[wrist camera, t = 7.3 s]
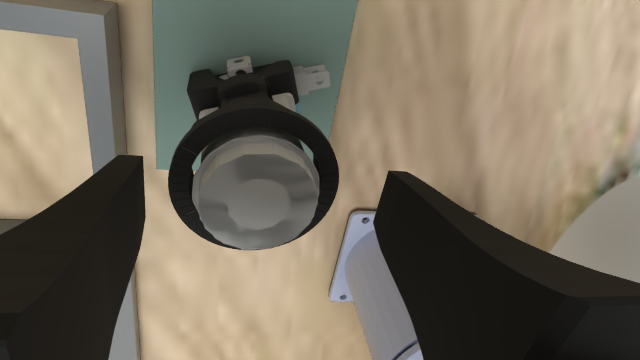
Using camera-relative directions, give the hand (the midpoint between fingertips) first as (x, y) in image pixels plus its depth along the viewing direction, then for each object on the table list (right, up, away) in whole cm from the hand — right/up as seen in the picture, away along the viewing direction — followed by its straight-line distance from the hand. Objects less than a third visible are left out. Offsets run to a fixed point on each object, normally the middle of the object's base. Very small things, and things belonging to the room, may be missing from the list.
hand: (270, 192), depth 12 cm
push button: (-2, +5, +8) cm, 10 cm away
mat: (-2, +6, +8) cm, 10 cm away
